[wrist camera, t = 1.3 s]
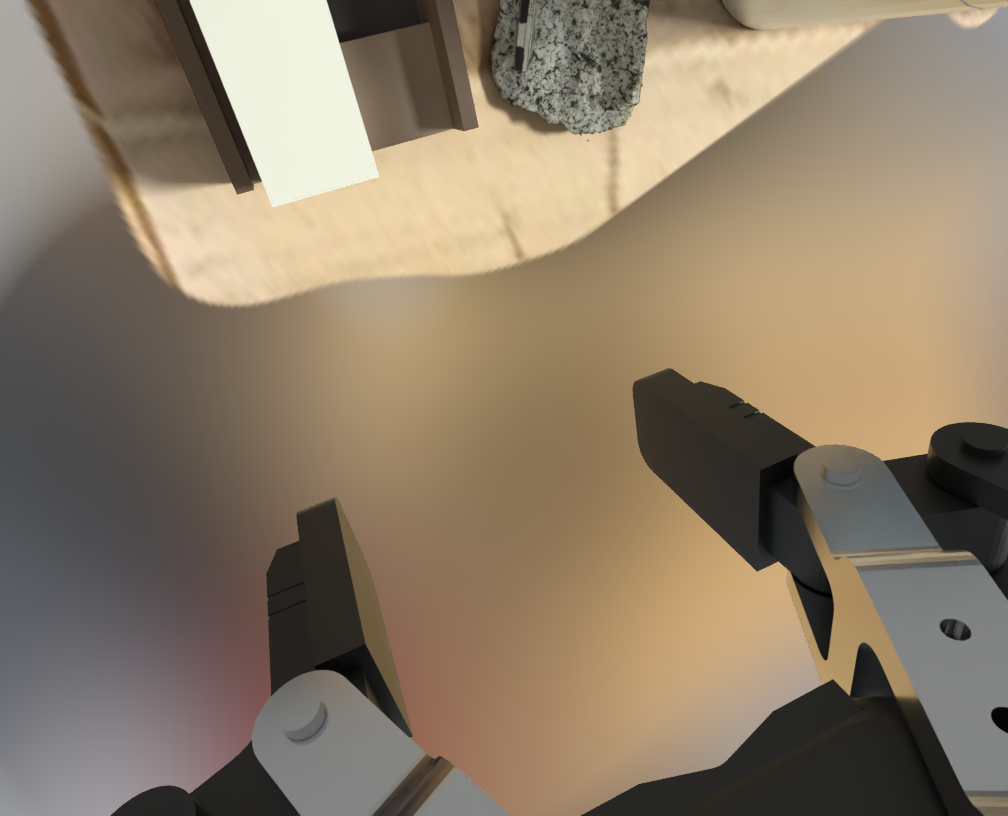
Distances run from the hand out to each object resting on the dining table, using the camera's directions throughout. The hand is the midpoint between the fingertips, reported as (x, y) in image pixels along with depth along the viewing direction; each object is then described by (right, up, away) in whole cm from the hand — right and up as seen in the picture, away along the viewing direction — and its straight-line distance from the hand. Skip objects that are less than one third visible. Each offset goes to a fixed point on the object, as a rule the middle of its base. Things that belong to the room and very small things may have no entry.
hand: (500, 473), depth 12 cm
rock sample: (+3, +22, +24) cm, 32 cm away
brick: (-11, +18, +17) cm, 27 cm away
